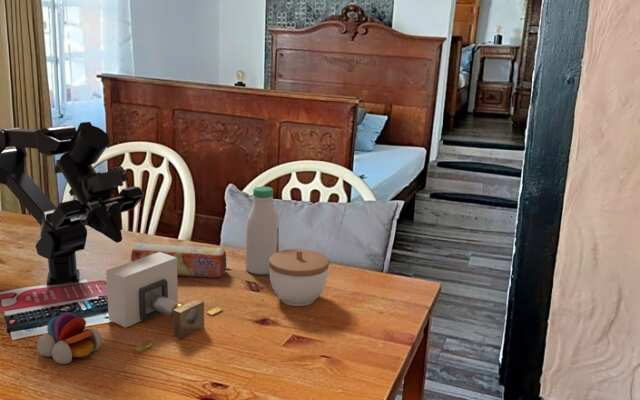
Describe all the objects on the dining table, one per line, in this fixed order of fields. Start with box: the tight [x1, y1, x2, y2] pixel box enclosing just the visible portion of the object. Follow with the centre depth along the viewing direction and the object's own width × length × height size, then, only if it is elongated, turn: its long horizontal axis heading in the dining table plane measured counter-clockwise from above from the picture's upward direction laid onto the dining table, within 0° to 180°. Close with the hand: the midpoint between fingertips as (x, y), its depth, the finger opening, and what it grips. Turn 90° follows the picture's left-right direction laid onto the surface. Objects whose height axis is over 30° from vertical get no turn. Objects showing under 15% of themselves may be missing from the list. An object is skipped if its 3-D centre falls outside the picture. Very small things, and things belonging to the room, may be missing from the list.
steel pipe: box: [132, 291, 224, 353], centre depth 117 cm, size 19×21×6 cm
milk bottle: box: [245, 186, 280, 276], centre depth 141 cm, size 8×8×20 cm
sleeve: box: [105, 252, 179, 329], centre depth 118 cm, size 6×13×10 cm, turn 146°
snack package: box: [130, 242, 227, 279], centre depth 139 cm, size 21×7×7 cm, turn 89°
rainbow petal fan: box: [36, 311, 103, 365], centre depth 103 cm, size 8×10×7 cm
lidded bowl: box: [269, 248, 330, 307], centre depth 127 cm, size 13×13×11 cm
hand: (119, 241), depth 119 cm, fingers closed
